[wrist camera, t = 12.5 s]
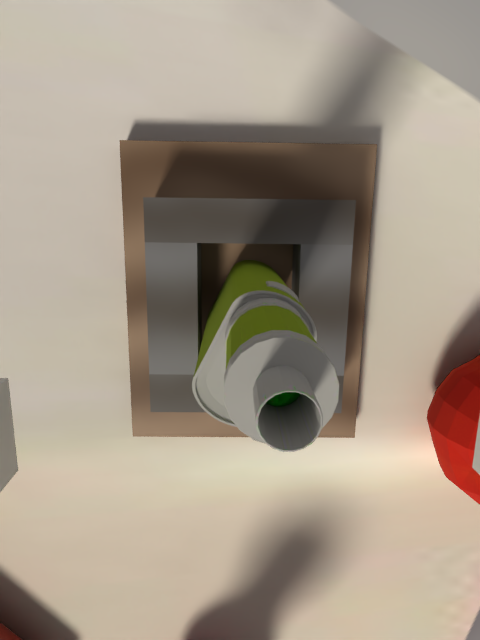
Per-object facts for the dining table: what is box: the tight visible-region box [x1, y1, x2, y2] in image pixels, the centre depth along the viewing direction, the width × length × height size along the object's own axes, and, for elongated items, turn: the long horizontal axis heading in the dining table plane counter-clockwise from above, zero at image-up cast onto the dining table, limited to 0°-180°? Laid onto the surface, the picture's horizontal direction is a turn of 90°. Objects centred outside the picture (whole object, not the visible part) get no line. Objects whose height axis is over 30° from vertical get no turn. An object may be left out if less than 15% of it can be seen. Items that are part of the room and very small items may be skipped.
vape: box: [192, 260, 339, 452], centre depth 21 cm, size 4×6×20 cm, turn 152°
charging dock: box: [120, 140, 377, 438], centre depth 29 cm, size 20×16×5 cm
